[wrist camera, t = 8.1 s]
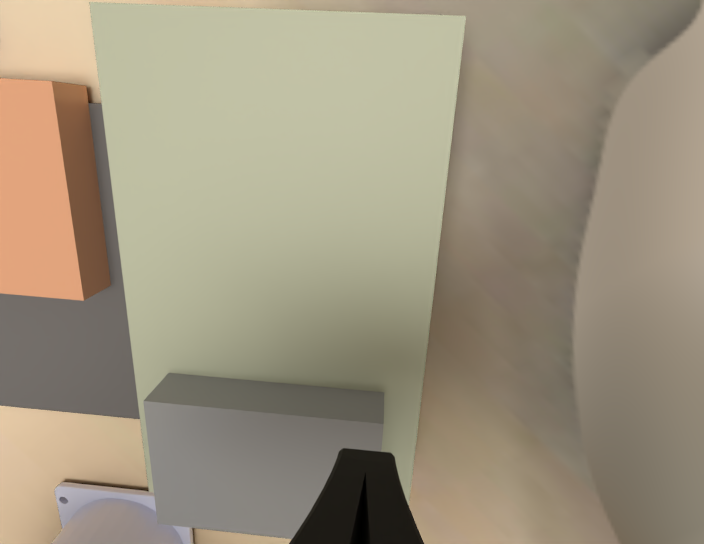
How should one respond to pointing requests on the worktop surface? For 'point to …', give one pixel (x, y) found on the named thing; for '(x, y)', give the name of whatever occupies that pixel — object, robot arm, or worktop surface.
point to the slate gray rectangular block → (250, 449)
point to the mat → (73, 333)
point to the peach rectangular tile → (49, 193)
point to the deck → (280, 194)
